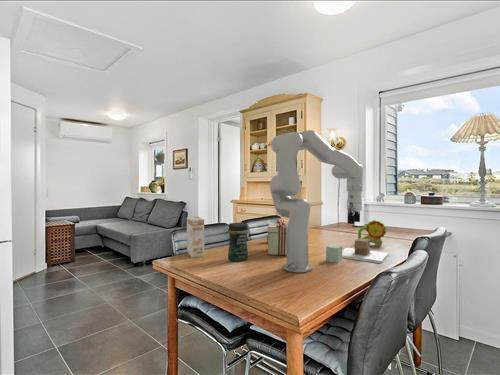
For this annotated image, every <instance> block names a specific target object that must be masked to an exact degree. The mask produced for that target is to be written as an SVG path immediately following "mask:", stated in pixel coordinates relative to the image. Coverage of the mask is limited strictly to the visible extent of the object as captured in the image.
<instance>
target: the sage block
mask: <svg viewBox="0 0 500 375" xmlns="http://www.w3.org/2000/svg"><path fill="white" fill-rule="evenodd" d="M342 250H343V245H337V244H329V245H326V248H325V261H326V262H329V263H337V264H339V263H340V262H342V261H343V258H342Z"/></svg>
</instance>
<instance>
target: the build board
mask: <svg viewBox="0 0 500 375" xmlns="http://www.w3.org/2000/svg"><path fill="white" fill-rule="evenodd" d="M389 254H390V252H384V251H375V250H370V253H369V254H368V255H367V256H366V255H358V254H355V248H351V247H346V248H344V249H343V248H342V259H349V260H355V261H361V262H362V261H363V262H368V263H376V264H382V263H384V262H385V260H386V259H387V258H388V257H389Z"/></svg>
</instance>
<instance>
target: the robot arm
mask: <svg viewBox="0 0 500 375" xmlns="http://www.w3.org/2000/svg"><path fill="white" fill-rule="evenodd" d="M270 148H271V150H272V152H274V153H275V154H277V156H276V158H275V167H276V172H277V174H275V175H274V176H272V178H271V180H270V183H269V191H270V195H271V197H272V202H273V204H274V208H275V211H276V212H277V214H278V215H279V216H281V217H284V218H287V219H288V221H287V223H288V224H287V229H286V233H287V255H286V262H285V263H284V264H283V265H282V269H283V270H285V271H287V272H291V273H300V274H301V273H307V272H308V273H309V272H310V271H312V270H313V266H312V265H311V264H309V220H310V215H311V205H310V202H309V201H308V200H307V199H305V198H303V197H296V196H297V195H299V194H300V193H301V190H302V182H301V179H300V175H299V172H298V167H297V160H296V159H297V155H298V153H299V152H300V151H305V150H306V151H308V152H309V154H311V155H312V156H314V158H315V159H317V160H318V161H319V162H321V163H322V164H328V165H332V168H331V174H332V176H333V177H334V178H335V179H339V180H340V179H343V180H344V179H346V192H347V201H346V202H347V203H346V207H347V208H346V209H347V224H350V225H354V224H355V223H360V222H361V211H363V200H362V193H363V172H364V170H363V168H364V167H363V165H362V164H359V163H358V161H357V160H356V159H355V158H354V157H353V156H352V155H350V154H348V153H346V152H344V151H342V150H339V149H337V148H335V147H332V146H331V145H330V144H329V142H327V141H326V140H325V139H324V138H323V137H322V136H321V135H320V134H318V133H317V131H315V130H311V129H309V130H303V131H300V132H297V131H291V132H286V133H284V134H283V133H282V134H279V135H276V136H274V137H273V138H272V139H271V142H270Z"/></svg>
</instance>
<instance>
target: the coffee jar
mask: <svg viewBox="0 0 500 375" xmlns="http://www.w3.org/2000/svg"><path fill="white" fill-rule="evenodd" d="M227 232H228V236H229V242H228V244H229V245H228V253H227V259H228V260H229V261H231V262H243V261H247V260H248V258H249V252H248V242H247V240H248V239H247V236H248V233H249V229H248V223H247V222H231V223H229V224H228V229H227Z"/></svg>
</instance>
